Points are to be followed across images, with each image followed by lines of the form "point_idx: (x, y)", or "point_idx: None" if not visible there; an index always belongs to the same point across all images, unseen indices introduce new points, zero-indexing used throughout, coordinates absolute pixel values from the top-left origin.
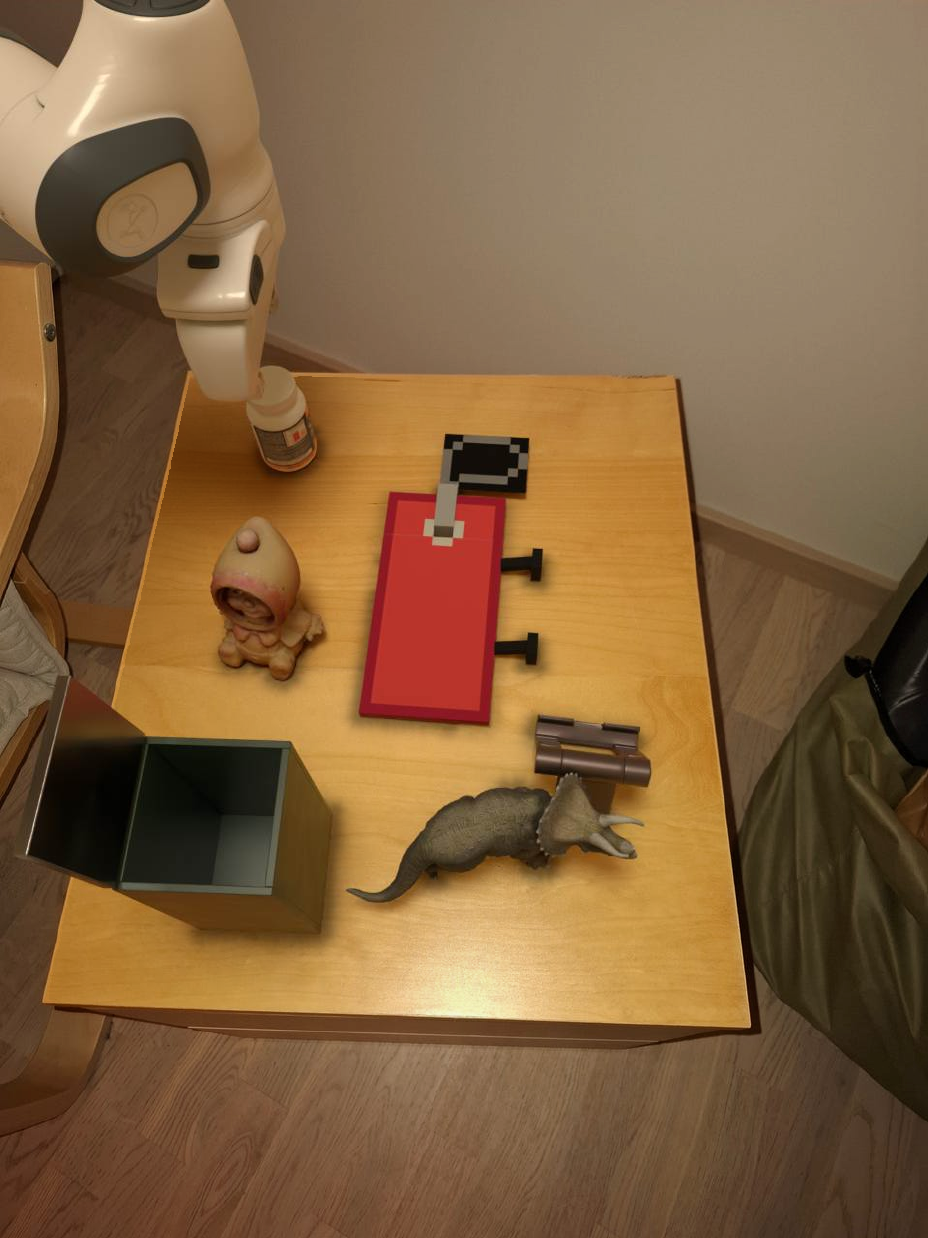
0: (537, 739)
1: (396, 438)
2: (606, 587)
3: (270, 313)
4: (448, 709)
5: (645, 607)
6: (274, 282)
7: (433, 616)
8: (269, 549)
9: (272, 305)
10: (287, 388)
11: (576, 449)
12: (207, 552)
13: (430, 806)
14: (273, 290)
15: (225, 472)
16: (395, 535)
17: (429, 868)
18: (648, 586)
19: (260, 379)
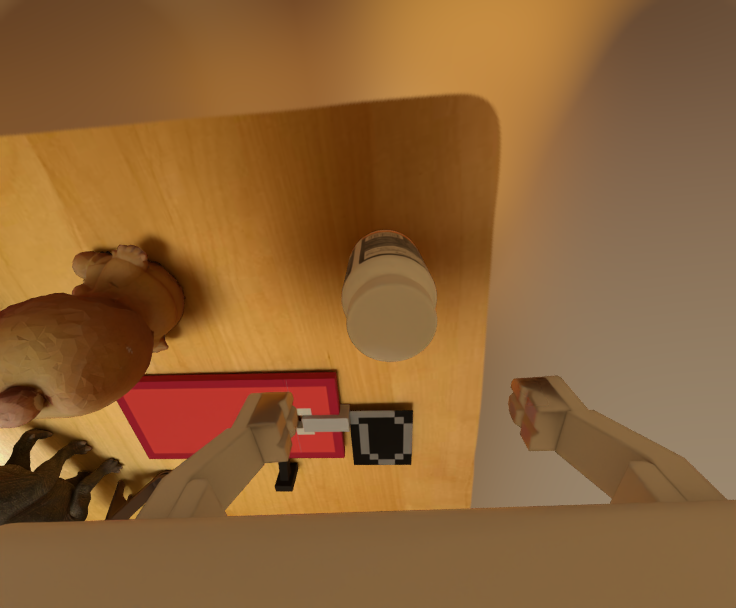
0: (133, 500)
1: (411, 364)
2: (291, 495)
3: (509, 396)
4: (144, 437)
5: (283, 511)
6: (579, 470)
7: (217, 421)
8: (51, 414)
9: (521, 421)
10: (386, 353)
11: (408, 479)
12: (215, 193)
13: (79, 423)
14: (558, 449)
15: (340, 185)
16: (286, 388)
17: (14, 445)
18: (299, 512)
19: (266, 461)
